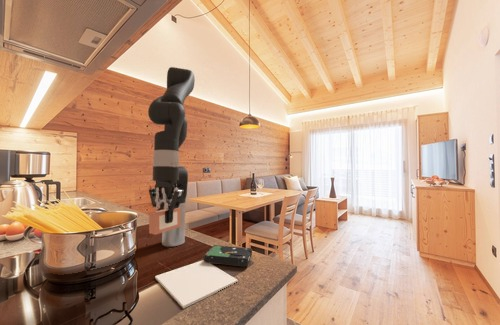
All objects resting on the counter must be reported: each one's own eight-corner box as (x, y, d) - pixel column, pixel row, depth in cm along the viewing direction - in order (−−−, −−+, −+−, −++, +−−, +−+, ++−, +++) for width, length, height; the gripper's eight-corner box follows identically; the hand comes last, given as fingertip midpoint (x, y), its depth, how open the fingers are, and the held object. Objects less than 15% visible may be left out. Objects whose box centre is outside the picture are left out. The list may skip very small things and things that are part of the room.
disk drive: (252, 255, 74) (213, 252, 77) (252, 248, 75) (213, 244, 77) (247, 268, 64) (203, 263, 66) (248, 258, 64) (203, 254, 67)
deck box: (155, 234, 57) (155, 213, 57) (149, 233, 59) (148, 212, 59) (180, 226, 65) (180, 207, 65) (174, 225, 66) (174, 207, 67)
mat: (155, 278, 58) (155, 276, 58) (203, 261, 69) (203, 259, 69) (183, 308, 45) (183, 305, 45) (237, 282, 56) (237, 280, 56)
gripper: (140, 165, 63) (139, 222, 62) (171, 164, 56) (170, 227, 55) (161, 166, 69) (160, 217, 68) (191, 165, 62) (190, 222, 61)
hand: (165, 221), depth 62 cm, fingers closed on deck box, 3 cm apart
